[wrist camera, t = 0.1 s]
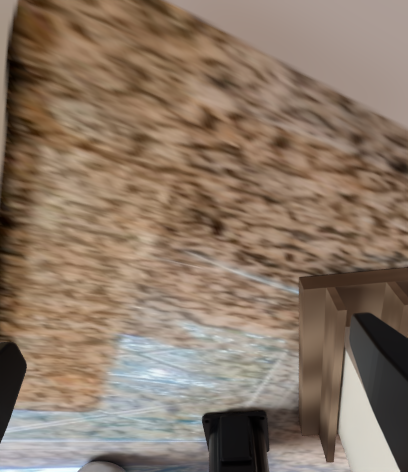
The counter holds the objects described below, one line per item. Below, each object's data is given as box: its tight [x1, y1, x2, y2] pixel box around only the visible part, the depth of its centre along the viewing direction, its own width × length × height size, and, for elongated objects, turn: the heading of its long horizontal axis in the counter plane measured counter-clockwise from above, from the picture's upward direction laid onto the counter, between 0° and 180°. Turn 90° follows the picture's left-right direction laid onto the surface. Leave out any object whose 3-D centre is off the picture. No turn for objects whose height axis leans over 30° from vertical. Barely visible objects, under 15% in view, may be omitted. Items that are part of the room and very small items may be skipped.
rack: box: [299, 267, 408, 462], centre depth 27 cm, size 18×14×4 cm
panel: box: [337, 327, 400, 472], centre depth 23 cm, size 10×3×11 cm, turn 8°
